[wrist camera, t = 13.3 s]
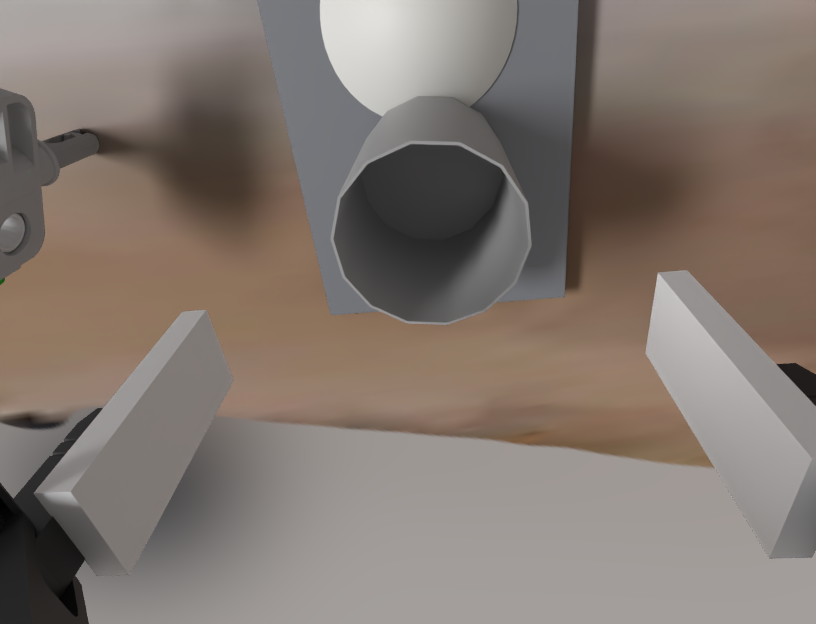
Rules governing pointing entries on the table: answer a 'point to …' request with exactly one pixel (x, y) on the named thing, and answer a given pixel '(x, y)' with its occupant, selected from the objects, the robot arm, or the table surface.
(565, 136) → the board
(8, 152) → the mechanical component
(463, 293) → the cup
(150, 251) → the table surface
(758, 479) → the robot arm
